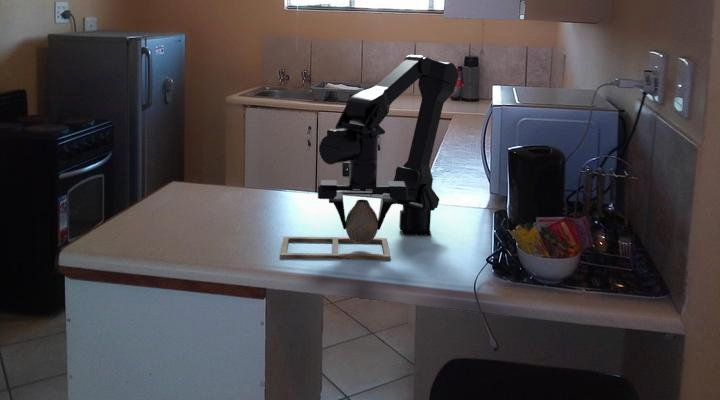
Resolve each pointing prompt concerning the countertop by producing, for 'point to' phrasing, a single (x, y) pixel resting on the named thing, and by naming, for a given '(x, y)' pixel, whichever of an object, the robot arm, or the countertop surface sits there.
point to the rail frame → (335, 249)
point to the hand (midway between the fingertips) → (361, 229)
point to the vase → (361, 222)
